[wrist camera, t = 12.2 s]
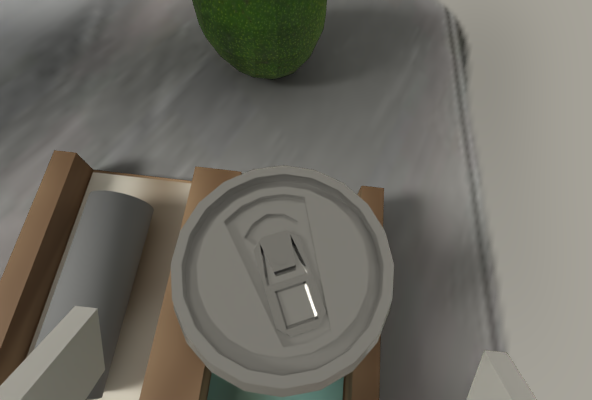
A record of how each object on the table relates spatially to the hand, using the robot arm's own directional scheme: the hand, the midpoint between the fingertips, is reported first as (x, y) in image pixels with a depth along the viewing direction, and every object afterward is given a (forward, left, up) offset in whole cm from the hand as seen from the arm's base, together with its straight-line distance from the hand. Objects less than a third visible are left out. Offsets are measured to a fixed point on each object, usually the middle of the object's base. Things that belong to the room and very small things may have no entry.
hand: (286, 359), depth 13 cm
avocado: (-18, +10, -7) cm, 21 cm away
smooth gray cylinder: (-7, -6, -6) cm, 11 cm away
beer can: (-2, +1, -6) cm, 7 cm away
